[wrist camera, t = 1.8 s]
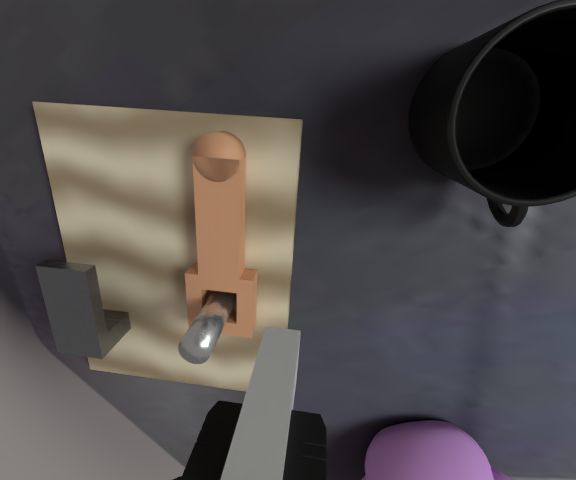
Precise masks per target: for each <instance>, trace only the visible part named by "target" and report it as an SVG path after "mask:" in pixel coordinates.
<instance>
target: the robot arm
mask: <svg viewBox="0 0 576 480" xmlns="http://www.w3.org/2000/svg"><path fill="white" fill-rule="evenodd" d="M300 334H301V331H298V330H290V329H282V328H274V327H266V328H265V331H264V334H263V338H262V341H261V344H260V348H259V351H258V355H257V358H256V361H255V365H254V368H253V371H252V375H251V378H250V382H249V385H248V388H247V392H246V395H245V398H244V402H243V404H240V403H233V402H226V401H218V402H217V403H216V404H215V405H214V406H213V407H212V409H211V410H210V411H209V412H208V414H207V416H206V418H205V421H204V423H203V426H202V430H201V431H200V433H199V436H198V438H197V442H196V443H195V446H194V448H193V451H192V453H191V455H190V458H189V460H188V463H187V465H186V468H185V470H184V473H183V475H182V476H181V477H178V478H176V479H173V480H326V427H325V424H324V422H323V419H322V417H321V415H320V414H315V413H308V412H301V411H294V410H293V403H294V395H295V386H296V377H297V366H298V355H299V344H300Z"/></svg>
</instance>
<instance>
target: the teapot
mask: <svg viewBox="0 0 576 480" xmlns="http://www.w3.org/2000/svg"><path fill="white" fill-rule="evenodd" d="M361 480H512V479H511V478H510V477H508V476H507V475H505V474H504V473H502V472H500V471H498V470H496V469H494V468H492V467H490V464H489V462H488V460H487V457H486V455H485V454H484V452H483V451H482V449H481V448H480V447H479V445H478V444H477V443H476V441H475V440H474V439H473V438H472V437H471V436H469V435H468V434H467V433H466V432H464V431H463V430H461V429H460V428H459V427H457V426H455V425H453V424H451V423H449V422H445V421H437V420H428V421H414V422H407V423H401V424H396V425H392V426H389V427H386V428H384V429H382V430H380V431H379V432H378V433H377V434H376V435H375V437H374V438H373V440H372V441H371V443H370V445H369V447H368V450H367V453H366V459H365V476H364V477H363V478H362V479H361Z"/></svg>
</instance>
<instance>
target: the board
mask: <svg viewBox="0 0 576 480" xmlns="http://www.w3.org/2000/svg"><path fill="white" fill-rule="evenodd" d="M33 107H34V111H35V116H36V121H37V125H38V130H39V134H40V139H41V144H42V148H43V153H44V158H45V162H46V167H47V171H48V176H49V181H50V185H51V190H52V195H53V199H54V204H55V208H56V213H57V218H58V222H59V227H60V232H61V236H62V241H63V246H64V250H65V255H66V259H67V262H71V263H80V264H89V265H95V266H96V272H97V277H98V283H99V289H100V294H101V300H102V305H103V309H108V310H116V311H124V312H129V318H130V325H131V329H130V330H129V331H128V332H127V333H126V334H125V335H124V336H123V337H122V339H121V340H120V341H119V342H118V343H117V344H116V345H115V346H114V347H113V348H112V349H111V351H110V352H109V353H108V354H107V355H106V356H105V357H104V358H103V359H97V358H90V357H88V361H89V366H90V369H92V370H99V371H106V372H113V373H120V374H127V375H134V376H141V377H148V378H155V379H162V380H169V381H176V382H183V383H190V384H198V385H205V386H212V387H219V388H226V389H233V390H240V391H247V388H248V385H249V382H250V378H251V375H252V371H253V368H254V365H255V361H256V358H257V355H258V351H259V348H260V344H261V341H262V338H263V334H264V331H265V328H266V327H274V328H282V329H288V317H289V303H290V289H291V275H292V261H293V248H294V234H295V220H296V206H297V192H298V179H299V165H300V151H301V137H302V123H303V119H288V118H273V117H258V116H243V115H228V114H213V113H199V112H184V111H169V110H154V109H139V108H124V107H109V106H94V105H80V104H65V103H50V102H33ZM218 131H226V132H230V133H232V134H234V135H235V136H237V137H238V138H239V139H240V141H241V142H242V144H243V146H244V148H245V152H246V196H245V269H250V270H258V275H257V311H256V327H255V330H254V333H253V336H252V338H245V337H237V336H230V335H222V334H221V335H220V337H219V339H218V341H217V343H216V345H215V347H214V349H213V351H212V353H211V355H210V357H209V359H208V360H207V361H206V362H205V363H202V364H192V363H189V362H187V361H186V360H184V359H183V358H182V357H181V355H180V353H179V351H178V346H179V343H180V342H181V340H182V338H183V337H184V335H185V334H186V332H187V331H188V314H187V299H186V284H185V272H186V271H187V270H188V269H189V268H190V267H191V266H192V265H193V264H194V263H195V264H198V261H197V240H196V220H195V200H194V179H193V159H192V152H193V147H194V145H195V143H196V141H197V140H198V139H199V138H200V137H201V136H203V135H205V134H207V133H212V132H218ZM212 292H213V290H209V296H210V295H211V294H212ZM233 310H236V311H237V302H236V304H235V306H234V308H233Z"/></svg>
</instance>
